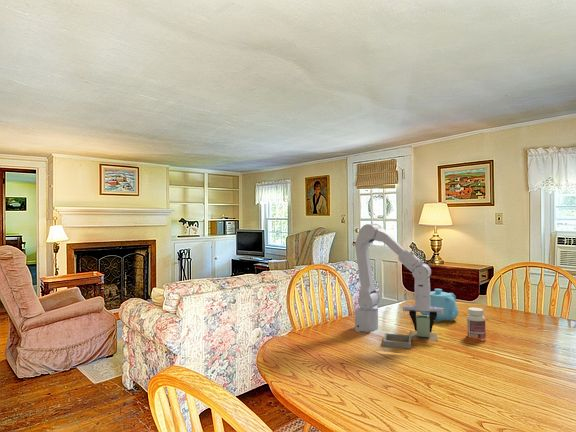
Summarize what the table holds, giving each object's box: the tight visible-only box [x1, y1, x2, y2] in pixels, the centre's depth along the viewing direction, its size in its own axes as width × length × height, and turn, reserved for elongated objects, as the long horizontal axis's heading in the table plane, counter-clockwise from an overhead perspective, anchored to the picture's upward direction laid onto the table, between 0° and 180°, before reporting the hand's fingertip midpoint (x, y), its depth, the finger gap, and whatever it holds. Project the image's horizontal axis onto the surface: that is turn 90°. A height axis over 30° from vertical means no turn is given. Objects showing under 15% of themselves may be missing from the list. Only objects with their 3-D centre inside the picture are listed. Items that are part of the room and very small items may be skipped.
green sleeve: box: [416, 314, 431, 337], centre depth 140 cm, size 5×5×7 cm
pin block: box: [409, 331, 439, 343], centre depth 140 cm, size 10×10×4 cm
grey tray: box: [382, 332, 412, 350], centre depth 133 cm, size 9×9×2 cm
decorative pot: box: [419, 288, 459, 323], centre depth 167 cm, size 16×16×14 cm
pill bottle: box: [466, 307, 487, 342], centre depth 138 cm, size 6×6×11 cm
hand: (423, 331), depth 140 cm, fingers closed on green sleeve, 5 cm apart
